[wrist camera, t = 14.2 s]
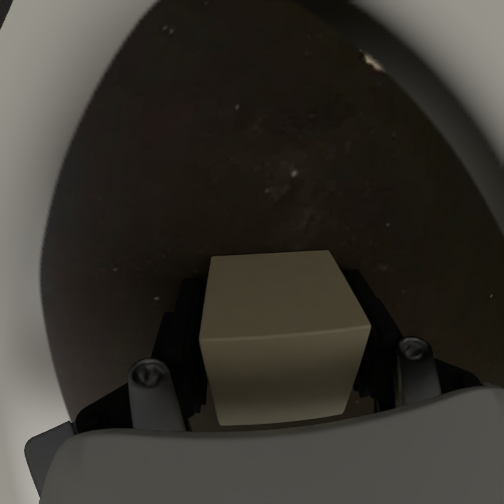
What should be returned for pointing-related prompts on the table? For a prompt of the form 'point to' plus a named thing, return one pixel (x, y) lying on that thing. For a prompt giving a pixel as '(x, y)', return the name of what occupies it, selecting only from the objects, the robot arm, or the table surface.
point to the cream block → (280, 337)
